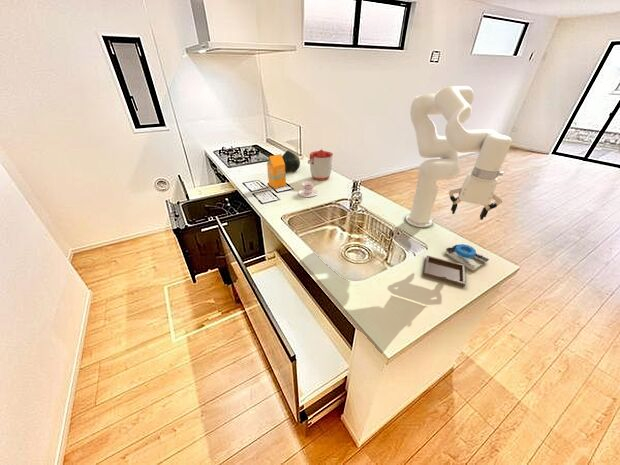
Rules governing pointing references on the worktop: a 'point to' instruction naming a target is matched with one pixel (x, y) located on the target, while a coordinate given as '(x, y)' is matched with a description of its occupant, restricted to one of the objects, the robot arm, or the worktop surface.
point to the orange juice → (276, 171)
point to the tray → (445, 271)
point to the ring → (468, 248)
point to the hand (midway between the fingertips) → (466, 215)
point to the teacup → (308, 190)
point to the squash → (291, 161)
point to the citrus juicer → (320, 164)
